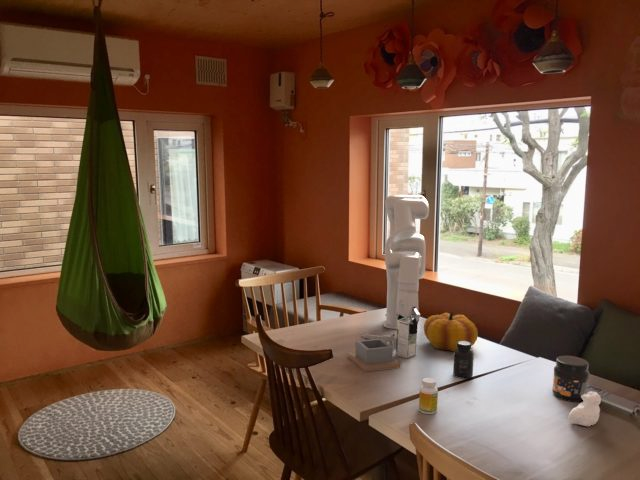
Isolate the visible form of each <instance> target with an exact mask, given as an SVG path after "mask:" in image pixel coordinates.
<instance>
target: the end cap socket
mask: <svg viewBox="0 0 640 480" xmlns="http://www.w3.org/2000/svg"><path fill="white" fill-rule="evenodd" d="M348 358H350V359H351V360H352V362H354V363H355V364H356V365H357V366H358V367H359V368H360V369H362V371H364V372H365V373H366V372H375V371H382V370H390V369H391V370H392V369H398V368H401V363H400V362H399V361H398V360H396V359H395V358H394V347H392V346H391V345H389V342H385V341H384V340H382V339H362V340H356V341H355V352H348Z"/></svg>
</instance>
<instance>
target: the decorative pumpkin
mask: <svg viewBox="0 0 640 480" xmlns="http://www.w3.org/2000/svg"><path fill="white" fill-rule="evenodd" d="M423 331H424V336H425V338H426V339H427V341H428V342H429V343H430V344H431V345H432V346H433V347H434V348H435V349H438V350H442V351H443V350H447V351H449V352H454V351H455V350H456V349H457V342H459V341H467V342H470V343H471V347H472V346H474V345H475V343H476V342H477V340H478V337H479V334H478V328H477V327H476V325H475V323H474V322H472V320H470V319H469V318H468V317H466V316H465V315H464V314H455V315H454V312H453V311H452V312H450V313H448V312H444V313H443V312H442V313H441V314H434V315H429V316H428V317H427V318H426V320H425V321H424V324H423Z"/></svg>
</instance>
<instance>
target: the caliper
mask: <svg viewBox="0 0 640 480" xmlns="http://www.w3.org/2000/svg"><path fill="white" fill-rule="evenodd" d="M360 337H362V338H365V339H367V340H371V339H382V340H384V341H385V342H387V343H388V344H389V345H391V346H392V347H393V350H396V335H395V334H394V333H390V335H376V334H375V335H374V334H369V333H368V334H365V333H364V334H362V335H360Z"/></svg>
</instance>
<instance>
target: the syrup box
mask: <svg viewBox="0 0 640 480" xmlns="http://www.w3.org/2000/svg"><path fill="white" fill-rule="evenodd" d="M413 319H414V318H412V321H413ZM409 324H411V323H410V320H409V317H408V318H402V319H398V320H397V329H396V335H395V337H396V349H395V355H396V356H398V357H401V358H404V359H409V358H411V357H414V356H416V353H417V340H418V339H417V337H418V333H417V334H409Z"/></svg>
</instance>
